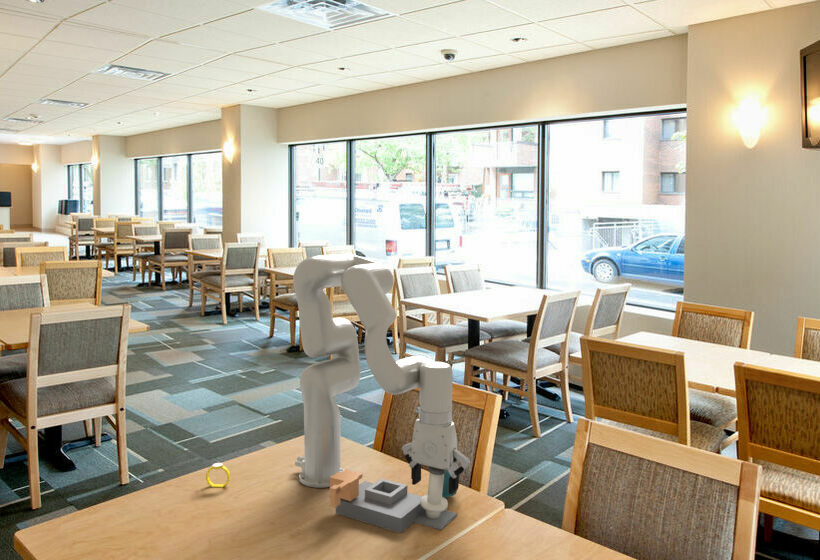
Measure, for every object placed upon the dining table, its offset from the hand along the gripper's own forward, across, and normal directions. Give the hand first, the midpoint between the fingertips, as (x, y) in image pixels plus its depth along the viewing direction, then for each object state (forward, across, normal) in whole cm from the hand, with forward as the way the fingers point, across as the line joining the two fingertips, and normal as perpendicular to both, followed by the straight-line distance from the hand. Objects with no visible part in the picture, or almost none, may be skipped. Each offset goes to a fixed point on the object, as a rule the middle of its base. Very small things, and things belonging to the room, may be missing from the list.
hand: (434, 487), depth 148 cm
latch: (+4, -20, -10) cm, 23 cm away
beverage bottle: (+8, -3, +11) cm, 14 cm away
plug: (+7, 0, 0) cm, 7 cm away
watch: (+8, -56, -14) cm, 58 cm away
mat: (+8, 0, 0) cm, 8 cm away
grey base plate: (+8, -12, -4) cm, 15 cm away
